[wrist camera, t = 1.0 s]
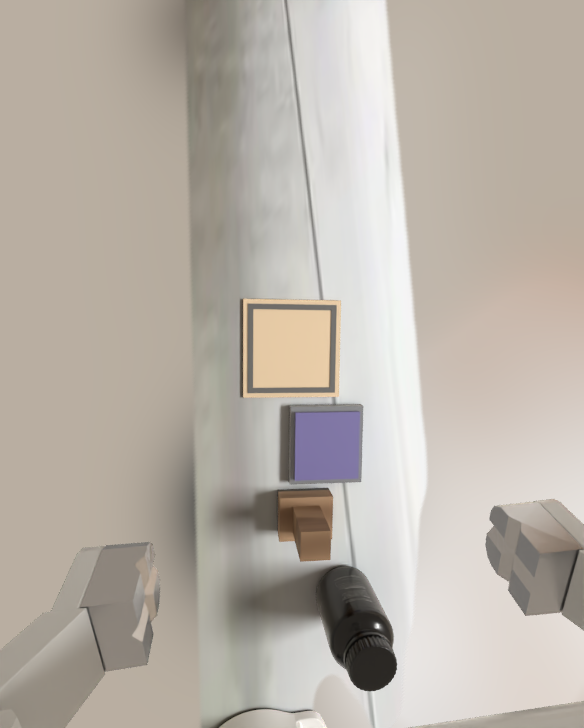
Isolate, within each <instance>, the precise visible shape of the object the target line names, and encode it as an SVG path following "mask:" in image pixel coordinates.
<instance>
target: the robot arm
mask: <svg viewBox="0 0 584 728" xmlns="http://www.w3.org/2000/svg"><path fill="white" fill-rule="evenodd" d="M490 521H491V522H492V523H493V525H494V526H493V528H492V529H491V530H490V531H489V532H488V533H487V537H486V550H487V555H488V558H489V561H490V563H491V565H492V567H493V568H494V570H495V571H496V573H497V575H499V576H501V577H502V578H504V579H506V580H507V581H509V588H508V591H509V592H510V594H511V595H512V597H513V598H514V600H515V601H516V603H517V604H518V606H519V607H520V608H521V610H522V611H523V613H524V614H525V616H528V615H539V614H549V613H560V612H562V615H563V616H565V617H566V618H567V619H569V620H570V621H571V622H573V623H574V624H576V625H577V626H578V627H580V628H581V629H583V630H584V524H583V523H581V521H579V520H578V519H577V518H576V517H575V516H574V515H573V514H572V513H571V512H570V511H569V510H568V509H567V508H566V507H565V506H564V505H563V504H562V503H561V502H559V501H557V500H555V499H549V500H540V501H534V502H525V503H516V504H509V505H499V506H494V507H493V509H492V510H491V514H490ZM154 558H155V552H154V548H153V544H152V543H150V542H144V543H131V544H118V545H106V546H100V547H87V548H82V549H81V550H80V551H79V552H78V553H77V555H76V557H75V559H74V562H73V564H72V566H71V568H70V570H69V573H68V575H67V577H66V579H65V581H64V584H63V586H62V588H61V590H60V592H59V594H58V597H57V599H56V601H55V603H54V606H53V608H52V610H51V612H47V613H42V615H40V616H39V617H38V618H37V619H35V620H34V621H33V622H32V623H31V624H30V625H29V626H27V627H26V628H25V629H24V630H23V631H22V632H20V634H18V635H17V636H16V637H15V638H14V639H12V640H11V641H10V642H9V643H8V644H6V645H5V646H4V647H3V648H2V649H1V650H0V728H65V727H66V726H67V724H68V723H69V722H70V720H71V719H72V718H73V716H74V715H75V714H76V712H77V711H78V710H79V708H80V707H81V706H82V704H83V703H84V702H85V700H86V699H87V698H88V696H89V695H90V694H91V692H92V691H93V690H94V688H95V687H96V686H97V684H98V683H99V682H100V680H101V679H102V678H103V676H104V675H105V671H112V670H118V669H125V668H131V667H137V666H143V665H147V663H148V658H149V653H150V648H151V643H152V639H153V631H152V626H151V622H152V620H153V619H154V618H155V617H156V616H157V612H158V607H159V599H160V579H159V573H158V570H157V569H156V568H155V567H154V566H153V562H154ZM219 728H327V727H326V725H325V723H324V721H323V719H322V717H321V715H320V714H319V713H318V712H316V711H303V712H298V713H287V712H283V711H278V710H271V709H260V710H253V711H249V712H245V713H242V714H240V715H238V716H235V717H233V718H232V719H230V720H228V721H227V722H225V723H224V724H223V725H221V726H220V727H219ZM410 728H584V701H581V702H575V703H568V704H561V705H555V706H548V707H542V708H535V709H528V710H522V711H515V712H509V713H502V714H495V715H489V716H482V717H475V718H469V719H462V720H456V721H449V722H443V723H436V724H429V725H423V726H416V727H410Z"/></svg>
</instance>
